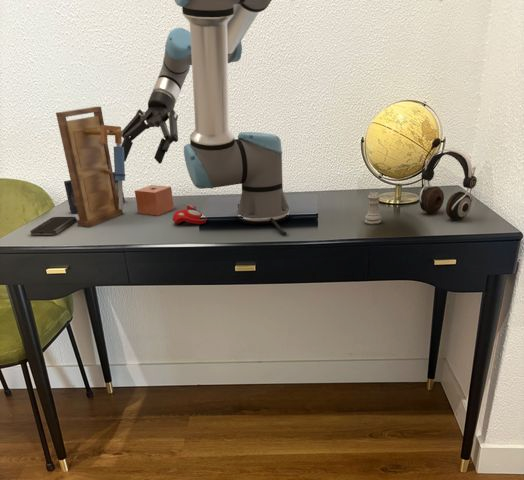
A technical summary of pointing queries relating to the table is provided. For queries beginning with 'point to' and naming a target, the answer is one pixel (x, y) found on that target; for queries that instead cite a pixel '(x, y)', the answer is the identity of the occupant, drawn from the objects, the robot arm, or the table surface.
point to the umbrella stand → (154, 200)
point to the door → (89, 166)
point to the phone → (53, 226)
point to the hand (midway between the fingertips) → (139, 159)
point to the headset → (434, 195)
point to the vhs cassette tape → (72, 200)
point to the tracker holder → (188, 215)
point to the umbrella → (116, 159)
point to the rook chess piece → (373, 209)
